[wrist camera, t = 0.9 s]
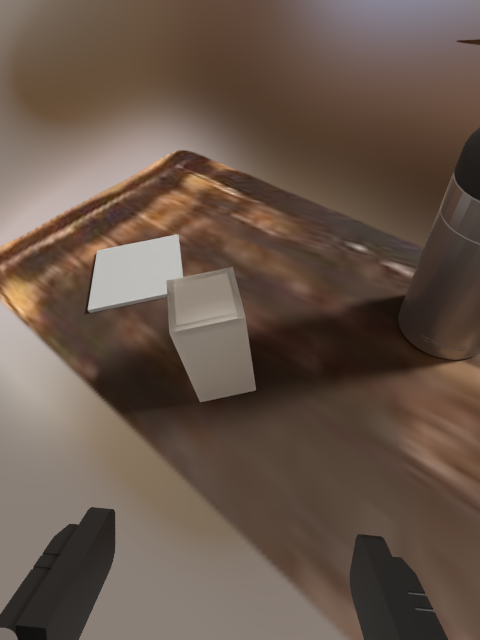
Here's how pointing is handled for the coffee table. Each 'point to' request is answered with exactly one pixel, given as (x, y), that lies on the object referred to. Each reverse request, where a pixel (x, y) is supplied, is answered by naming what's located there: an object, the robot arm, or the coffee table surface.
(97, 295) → the grey mat
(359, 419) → the coffee table surface
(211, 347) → the cream box
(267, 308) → the coffee table surface
